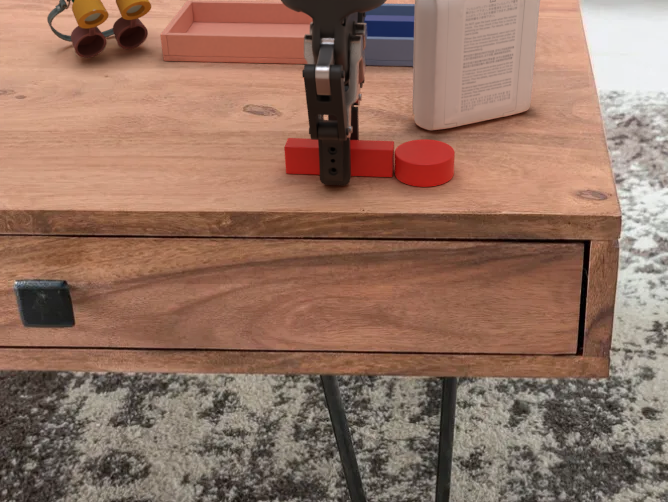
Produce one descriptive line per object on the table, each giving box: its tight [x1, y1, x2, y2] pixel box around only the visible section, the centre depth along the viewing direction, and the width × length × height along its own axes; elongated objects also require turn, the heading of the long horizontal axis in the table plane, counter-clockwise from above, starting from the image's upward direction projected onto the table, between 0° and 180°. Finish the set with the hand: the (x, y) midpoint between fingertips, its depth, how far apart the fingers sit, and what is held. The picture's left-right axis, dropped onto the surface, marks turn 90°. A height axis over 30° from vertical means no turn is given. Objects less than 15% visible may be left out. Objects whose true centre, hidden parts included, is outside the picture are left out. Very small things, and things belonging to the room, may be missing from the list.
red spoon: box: [283, 137, 455, 188], centre depth 78 cm, size 12×4×2 cm, turn 83°
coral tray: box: [159, 0, 313, 65], centre depth 101 cm, size 16×10×2 cm, turn 83°
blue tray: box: [364, 2, 415, 67], centre depth 99 cm, size 16×10×2 cm, turn 83°
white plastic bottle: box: [412, 0, 541, 131], centre depth 83 cm, size 10×4×12 cm, turn 116°
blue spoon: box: [364, 15, 414, 37], centre depth 99 cm, size 12×4×2 cm, turn 83°
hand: (340, 167), depth 79 cm, fingers open, 4 cm apart
